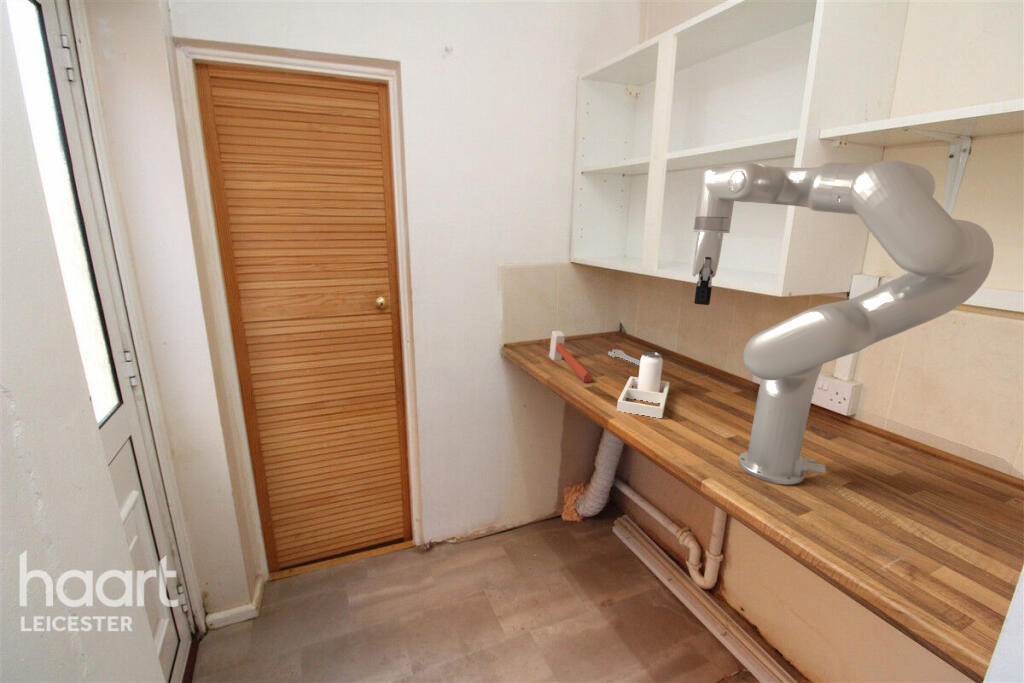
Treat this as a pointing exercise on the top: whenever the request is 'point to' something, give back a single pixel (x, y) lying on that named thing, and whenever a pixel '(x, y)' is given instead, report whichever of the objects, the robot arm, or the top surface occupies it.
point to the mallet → (566, 356)
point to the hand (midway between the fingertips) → (702, 301)
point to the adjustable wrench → (623, 356)
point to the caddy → (645, 396)
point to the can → (650, 372)
